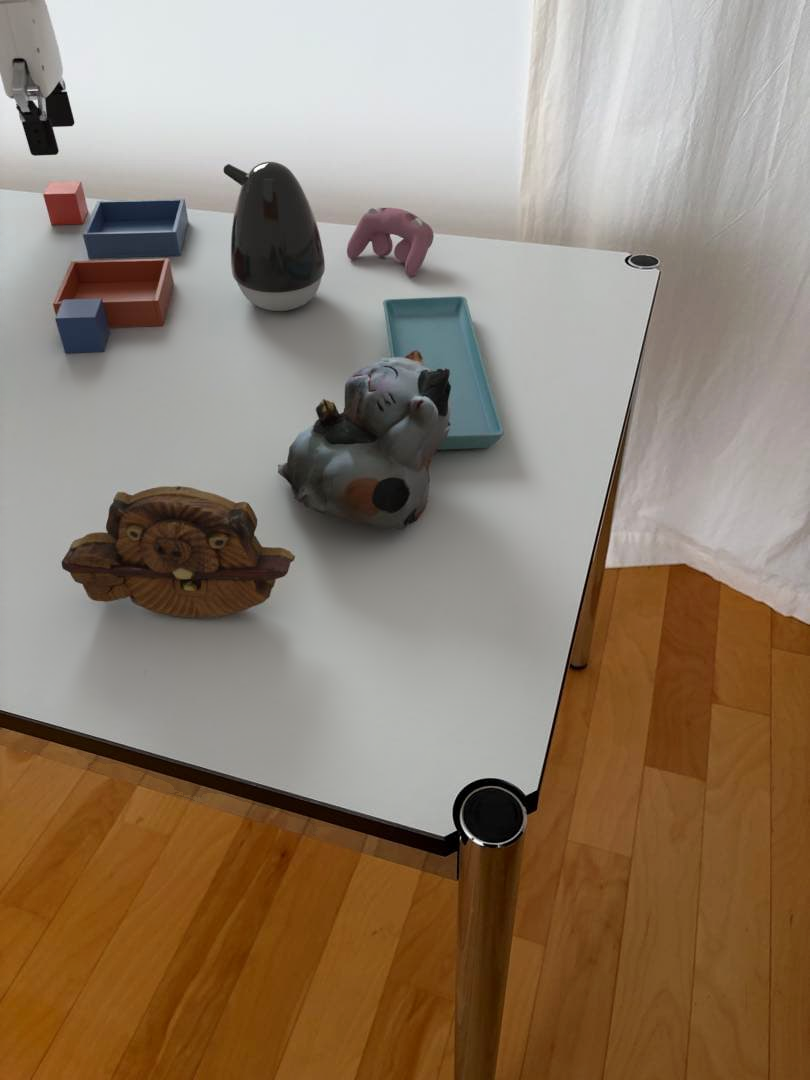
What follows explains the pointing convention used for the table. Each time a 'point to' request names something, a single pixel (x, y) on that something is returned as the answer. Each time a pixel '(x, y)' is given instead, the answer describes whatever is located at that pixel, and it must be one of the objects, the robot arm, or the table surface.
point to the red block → (65, 203)
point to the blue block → (82, 325)
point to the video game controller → (378, 231)
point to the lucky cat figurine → (374, 444)
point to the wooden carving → (178, 554)
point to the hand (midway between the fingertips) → (54, 139)
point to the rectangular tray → (448, 363)
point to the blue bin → (136, 228)
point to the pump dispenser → (274, 239)
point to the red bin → (121, 289)
